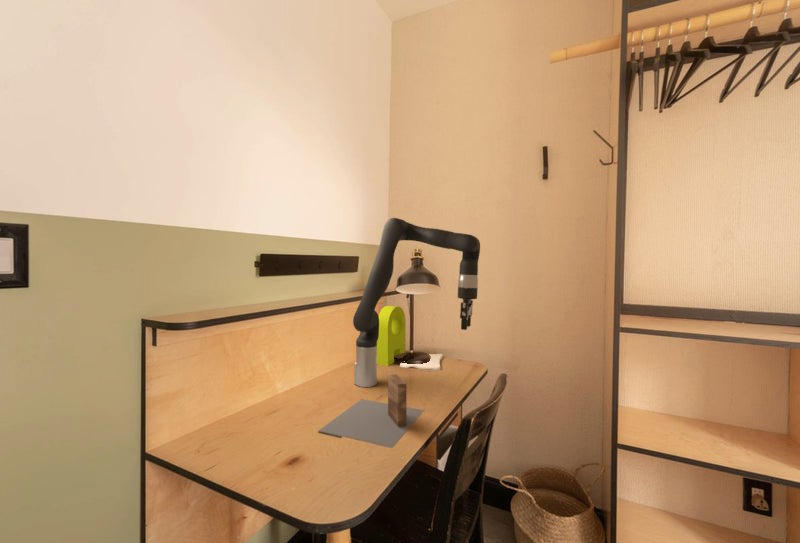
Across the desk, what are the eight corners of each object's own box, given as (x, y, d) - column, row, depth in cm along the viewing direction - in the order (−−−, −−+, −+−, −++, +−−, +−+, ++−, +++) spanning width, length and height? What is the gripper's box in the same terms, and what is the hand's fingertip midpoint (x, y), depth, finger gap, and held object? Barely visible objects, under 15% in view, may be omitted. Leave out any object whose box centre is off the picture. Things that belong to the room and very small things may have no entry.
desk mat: (318, 432, 112) (318, 430, 111) (361, 400, 137) (361, 398, 137) (392, 449, 101) (392, 447, 101) (424, 411, 127) (424, 410, 127)
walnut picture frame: (397, 427, 114) (398, 384, 114) (388, 414, 123) (388, 375, 123) (407, 425, 115) (407, 383, 115) (396, 413, 125) (396, 374, 124)
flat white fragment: (439, 374, 175) (444, 358, 199) (440, 367, 175) (445, 352, 199) (398, 369, 180) (408, 354, 204) (399, 362, 180) (408, 348, 204)
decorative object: (387, 366, 182) (387, 308, 181) (376, 364, 185) (376, 308, 184) (405, 356, 200) (405, 304, 199) (395, 355, 203) (395, 303, 202)
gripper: (461, 285, 144) (459, 324, 144) (454, 286, 131) (452, 329, 131) (479, 286, 142) (477, 326, 142) (475, 287, 128) (472, 331, 128)
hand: (465, 327), depth 136 cm, fingers open, 8 cm apart
